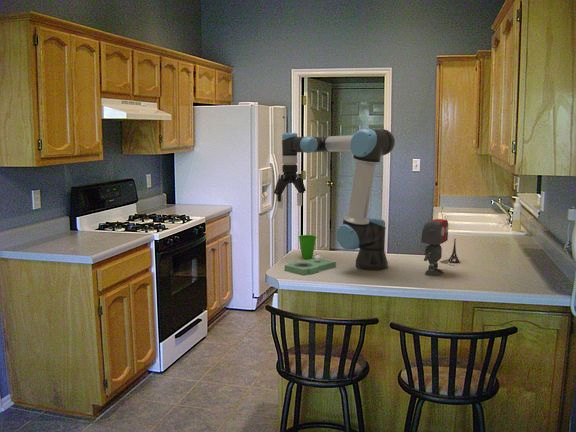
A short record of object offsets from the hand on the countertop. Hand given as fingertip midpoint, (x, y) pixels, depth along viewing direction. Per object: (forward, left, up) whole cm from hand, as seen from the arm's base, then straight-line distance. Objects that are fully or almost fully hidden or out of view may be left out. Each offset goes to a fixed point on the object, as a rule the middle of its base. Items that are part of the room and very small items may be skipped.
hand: (290, 206), depth 283 cm
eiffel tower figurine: (-63, -50, -26) cm, 85 cm away
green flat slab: (-24, +11, -25) cm, 37 cm away
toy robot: (-68, -23, -26) cm, 77 cm away
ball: (-24, +6, -21) cm, 33 cm away
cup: (-8, -4, -26) cm, 27 cm away
